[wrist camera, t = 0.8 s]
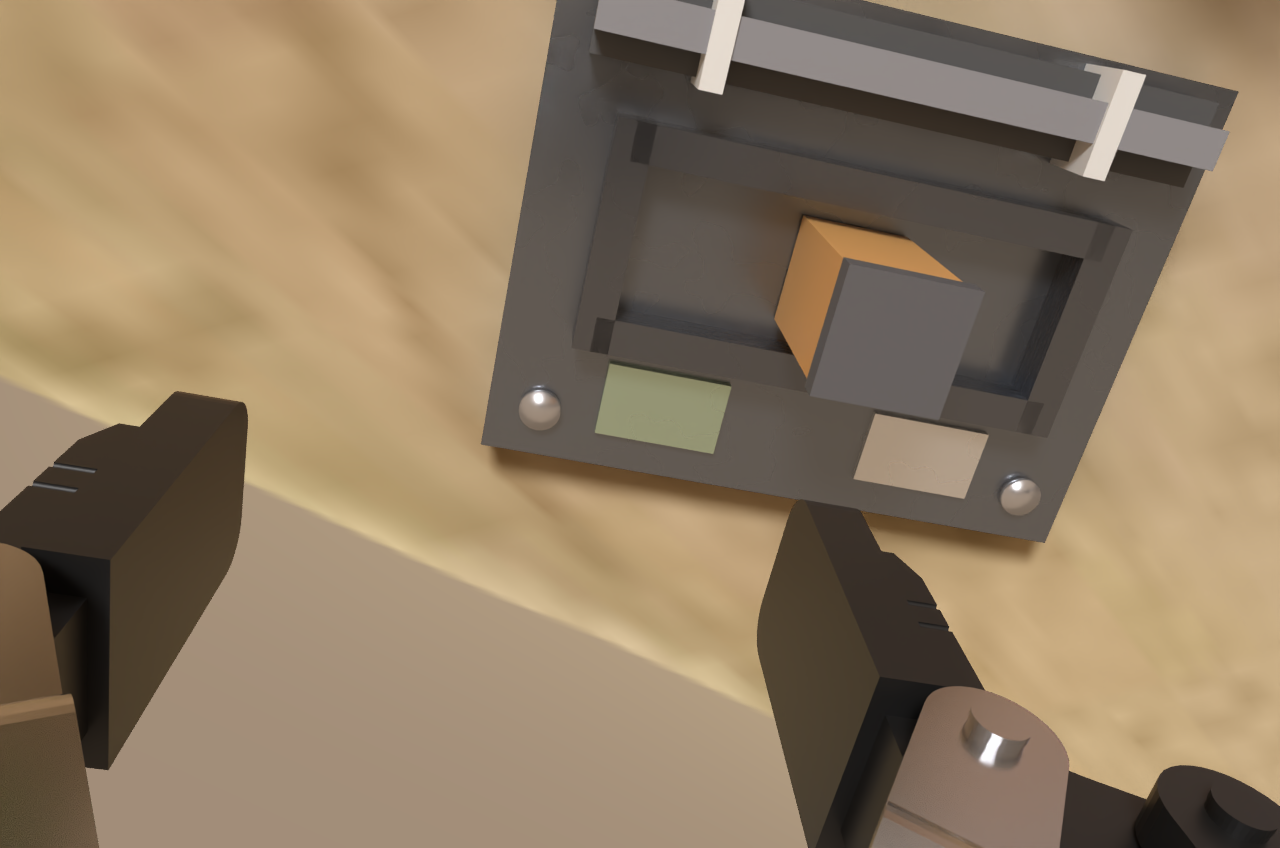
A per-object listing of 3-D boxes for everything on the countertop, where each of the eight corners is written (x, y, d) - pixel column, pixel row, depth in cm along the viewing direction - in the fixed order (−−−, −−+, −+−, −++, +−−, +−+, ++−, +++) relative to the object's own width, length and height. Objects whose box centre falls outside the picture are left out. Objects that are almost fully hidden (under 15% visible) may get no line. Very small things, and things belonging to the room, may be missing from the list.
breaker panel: (1206, 86, 28) (1266, 96, 26) (1025, 519, 33) (1060, 562, 31) (569, -69, 26) (567, -74, 23) (485, 424, 31) (476, 461, 29)
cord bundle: (1201, 90, 27) (1246, 98, 25) (1160, 188, 28) (1201, 203, 26) (607, -53, 25) (609, -55, 23) (587, 58, 26) (587, 64, 24)
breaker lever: (911, 234, 28) (985, 292, 23) (877, 342, 29) (938, 420, 24) (800, 210, 27) (849, 263, 22) (769, 321, 29) (809, 396, 23)
